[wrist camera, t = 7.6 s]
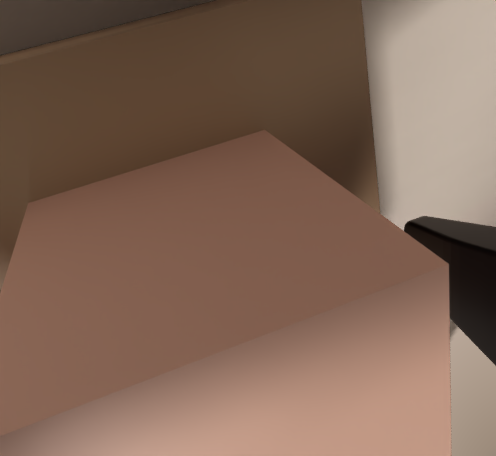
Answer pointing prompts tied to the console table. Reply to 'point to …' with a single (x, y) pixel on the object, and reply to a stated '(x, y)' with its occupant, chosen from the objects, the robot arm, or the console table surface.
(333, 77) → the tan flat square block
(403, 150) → the console table surface
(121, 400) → the peach block
